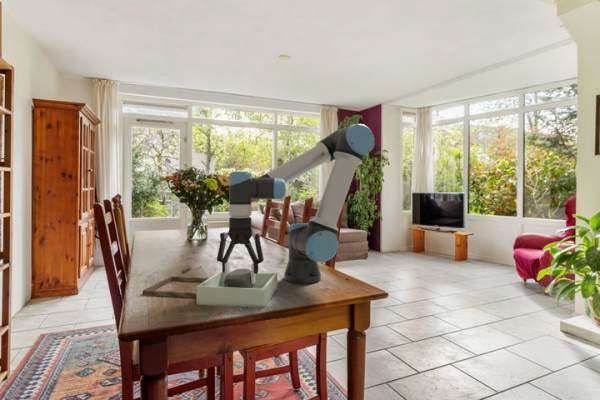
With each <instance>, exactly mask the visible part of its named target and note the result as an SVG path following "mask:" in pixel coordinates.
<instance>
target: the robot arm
mask: <svg viewBox="0 0 600 400" xmlns="http://www.w3.org/2000/svg"><path fill="white" fill-rule="evenodd" d="M374 146H375V135H374V134H373V131H372V130H371V128H369V126H367V125H365V124H362V123H356V124H355V123H354V124H351V125H349V126H345V127H343V128H339V129H336V130H335V131H334V132H332V133H330V134H328V135H327V136H326V137H325V138H323V139H321V140H320V141H317V142H316V144H315V146H313V147H312V148H310V149H308V150H306V151H305V152H303V153H301V154H299V155H297V156H295V157H293V158H291V159H290V160H288V161H286V162H284V163H282V164H281V165H279V166H277V167H275V168H273V169H271V170H270V171H268V172H266V173H264V174H262V175H261V176H259V177H254V176H253V175H252V172H251V171H239V170H237V171H232V172H231V173H230V174H229V183H228V189H229V191H228V193H229V195H228V196H229V197H228V200H229V202H228V203H229V205H228V208H229V209H228V210H229V211H228V215H229V216H230V217H229V218H228V219H229V220H228V226H229V227H228V228H229V230H228V232H224V231H223V232H221V233H219V237H220V238H219V239H220V241H219V247H218V250H217V256H216V261H217V262H219V263H221V269H222V270H221V271H222V272H225V277H226V276H227V275H228V274H229V273H230V270H231V269H230V267H231V265H230V264H231V263H230V261H229V259H230V256H231V254H232V252H233V250H234V248H235V246H236V245H239V244H240V245H243V246H245V248H246V250H247V252H248V255H249V256H250V259H251V261H252V264H251V267H250V270H251V284H254V283H255V274H257V273H259V264H262V263H263V262H264V253H263V250H262V249H263V248H262V245H261V235H262V234H261V233H259V232H258V233H256V232H253V230H252V217H251V216H252V202H253V201H252V200H281V199H284V198H285V195H286V191H287V189H286V188H287V187H286V185H287V184H289V183H290V182H292V181H294V180H295V179H298V178H299V177H301V176H303V175H305V174H307V173H308V172H310V171H311V170H313V169H316V168H317V167H319V166H321V165H322V164H324V163H326V164H328V163H330V162H333V161H334V164H333V166H332V168H331V171H330V173H329V177H328V179H327V183H326V186H325V188H324V191H323V194H322V196H321V198H320V202H319V205H318V208H317V210H316V213H315V216H314V217H313V218H311V219H309V220H308V222H306V223H303V222H302V223H301V222H300V223H291V224H290V225H289V227H288V261H287V264H286V268H285V269H284V275H283V279H284V281H286V282H288V283H293V284H303V285H304V284H312V283H317V282H318V283H319V282H320V281H321V280H322V279H321V278H322V273H321V270H320V266H319V264H318V263H324V262H327V261H330V260H331V259H333V258H334V257H335V255H336V254H337V252H338V250H339V240H338V237H337V236H338V234H339V228H338V226H337V224H338V221H339V218H340V215H341V214H342V213H341V212H342V210H343V207H344V204H345V202H346V201H345V200H346V198H347V196H348V193H349V190H350V187H351V184H352V181H353V179H354V176H355V173H356V170H357V167H358V166H360V165H362V164H363V162H364V159H365V156H366V155H368V154H369V153H371V151H372V150H373V149H374V148H375V147H374ZM228 238H230V243H229V245H228V247H227V249H226V244H227V239H228ZM251 238H252V239H253V240H254V245H255V250H256V252H255V250H254V247H253V245H252V241H251V240H250V239H251ZM225 249H226V252H225Z"/></svg>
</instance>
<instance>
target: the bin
mask: <svg viewBox="0 0 600 400" xmlns="http://www.w3.org/2000/svg"><path fill="white" fill-rule="evenodd" d="M232 271H233V270H231V271H230V273H231V272H232ZM208 278H209V279H207V280H206V281H204V282H200V284H198V285H197V286H196V292H197V298H196V305H197V306H198V305H199V306H200V305H201V306H216V307H233V308H252V309H253V308H254V309H255V308H256V309H265V307H266V306H267V305H268V303H269V301H271V299H272V297H273V296H274V295H275V293H276V291H277V290H278V273H275V272H274V273H273V272H258V273H257V274H255V283H254V286H253V287H252V288H236V287H224V280H225V272H222V270H220V271H218V272H216V273H214V274H213V275H212V276H210V277H208Z"/></svg>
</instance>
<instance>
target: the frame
mask: <svg viewBox="0 0 600 400" xmlns="http://www.w3.org/2000/svg"><path fill="white" fill-rule="evenodd" d="M209 278H210V277H200V276H199V277H196V276H182V275H181V276H179V275H177V276H175V275H171V276H169V277H167V278H165V279H163V280H161V281H159V282H157V283H155V284H153V285H151V286H149V287H147V288H145V289H143V290H142V295H143V296H158V297H160V296H161V297H174V298H175V297H176V298H178V297H179V298H193V299H194V298H195V299H197V291H193V292H192V291H179V290H178V291H177V290H175V291H174V290H158V289H159V288H161V287H164V286H165V285H167V284H168V283H171V282H173V281H174V282H175V281H177V282H194V283H195V282H198V283H203V282H204V281H206V280H207V279H209Z"/></svg>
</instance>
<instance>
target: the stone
mask: <svg viewBox="0 0 600 400" xmlns="http://www.w3.org/2000/svg"><path fill="white" fill-rule="evenodd" d="M231 271H232V272H231V273H229V274H228V275H227V276H226V277H225V280H224V287H236V288H252V287H253V286H254V284H251V269H249V268H238V269H234V270H231Z"/></svg>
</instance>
